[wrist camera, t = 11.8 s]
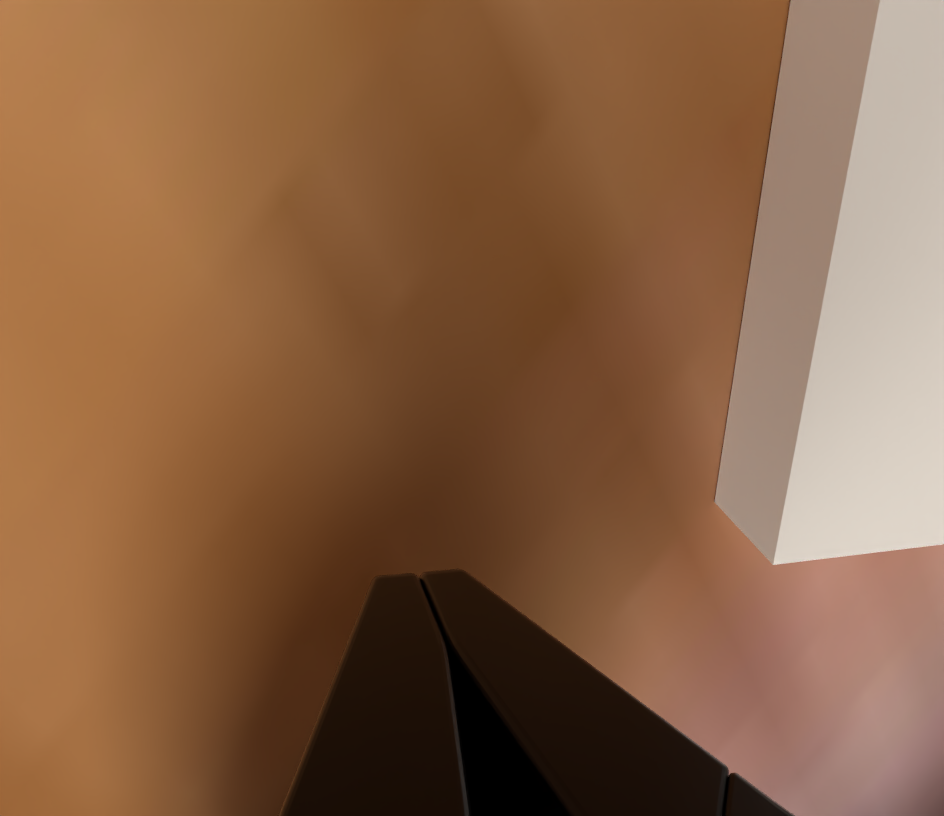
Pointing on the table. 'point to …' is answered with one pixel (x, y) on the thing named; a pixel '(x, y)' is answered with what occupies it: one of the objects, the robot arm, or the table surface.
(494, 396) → the table surface
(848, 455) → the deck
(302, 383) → the table surface
